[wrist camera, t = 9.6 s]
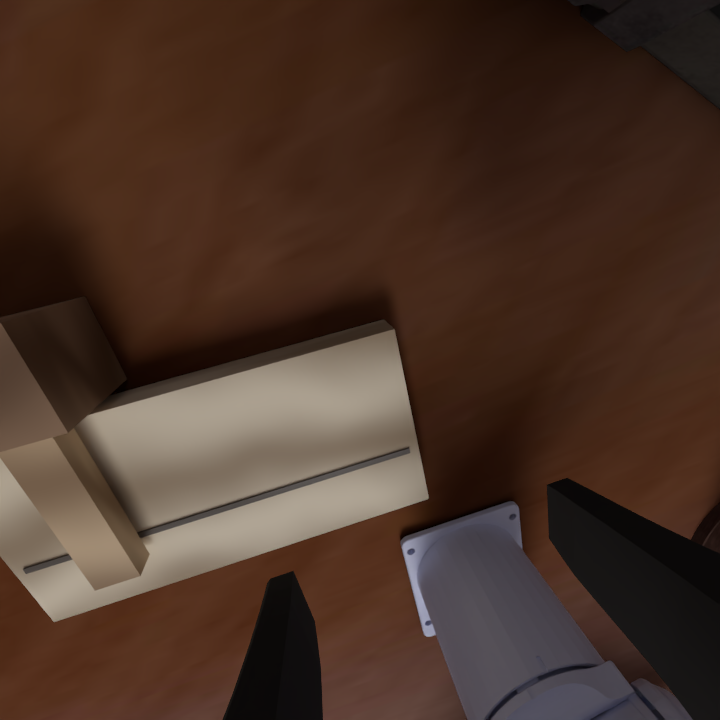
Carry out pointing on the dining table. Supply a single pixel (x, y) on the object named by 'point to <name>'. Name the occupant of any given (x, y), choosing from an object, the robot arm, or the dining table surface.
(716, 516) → the round smart speaker
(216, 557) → the board
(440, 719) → the dining table surface
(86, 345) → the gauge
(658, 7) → the black flashlight
